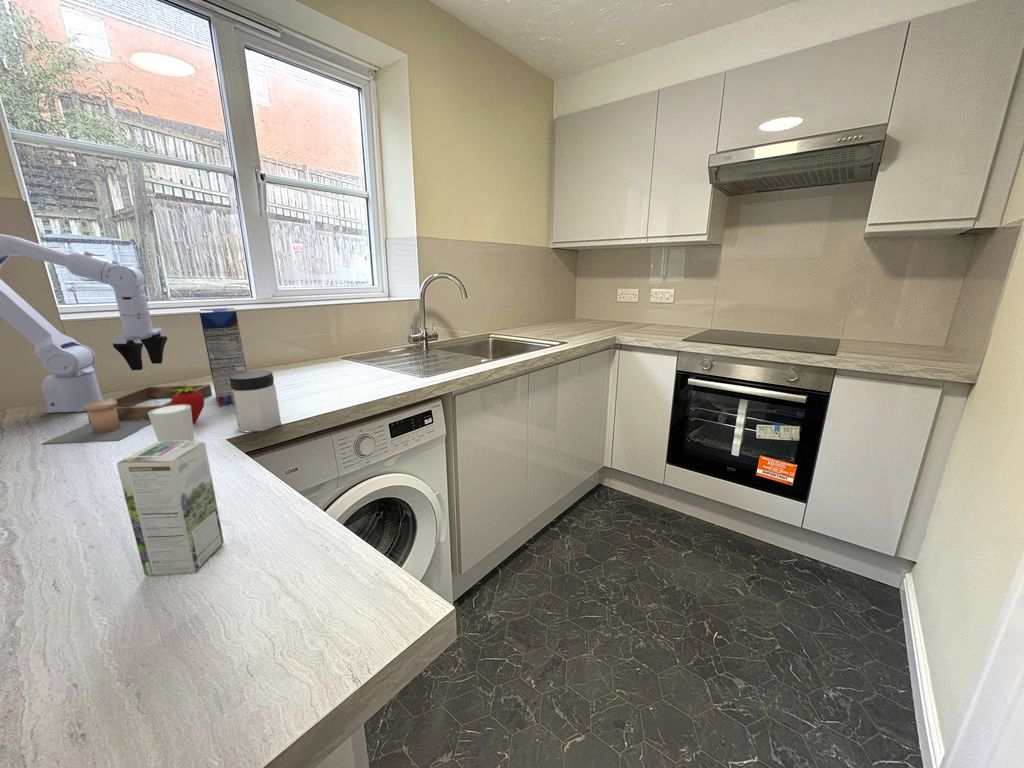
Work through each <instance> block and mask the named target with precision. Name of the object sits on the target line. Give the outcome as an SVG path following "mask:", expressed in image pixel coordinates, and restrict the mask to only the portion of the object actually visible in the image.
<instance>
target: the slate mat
mask: <svg viewBox="0 0 1024 768" xmlns="http://www.w3.org/2000/svg"><path fill="white" fill-rule="evenodd" d="M119 422H120V426H121V428H120V429H118V430H115V431H111V432H106V433H93V429H92V426H91V422H89V423H87V424H84V425H82V426H79V427H77V428H75V429H72V430H69V431H68V432H66V433H62V434H61V435H58V436H55V437H53V438H51V439H48V440H46V441H44V442H41V445H53V443H54V444H55V445H58V443H59V444H75V443H76V444H77V442H79V443H94V442H95V441H99V442H112V441H113V442H115V441H118V442H119V441H121V440H124V439H125V438H128V437H129V436H131V435H133V434H135V433H136V432H139V431H141V430H143V429H144V427H145V428H147V427H148V425H149V426H150V425H152V423H151V421H150V419H148V420H126V421H119ZM146 426H147V427H146ZM142 428H143V429H142Z"/></svg>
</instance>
